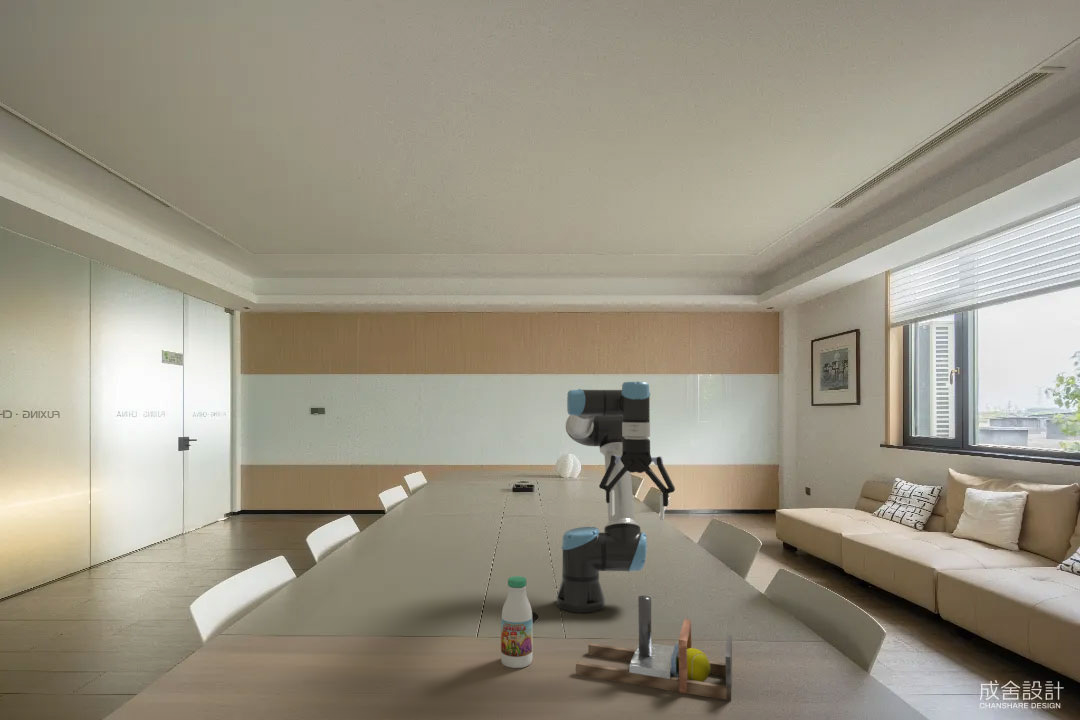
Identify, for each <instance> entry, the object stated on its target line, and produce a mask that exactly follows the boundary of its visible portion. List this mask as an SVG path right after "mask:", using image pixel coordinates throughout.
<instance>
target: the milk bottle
mask: <svg viewBox="0 0 1080 720" xmlns="http://www.w3.org/2000/svg"><path fill="white" fill-rule="evenodd" d="M507 588H508V592H507V593H508V594H507V596H506V599H505V602H504V604H503V607H502V610H501V621H500V623H501V625H500V626H501V628H500V629H501V630H500V633H501V634H500V661H501V664H502V665H503V666H504V667H506V668H510V669H521V668H525V667H528V666H530V665H531V664H532V661H533V611H532V610H533V609H532V607H531V606H532V605H531V603H530V600H529V598H528V596H527V592H526V589H527V578H526V577H525V576H520V575H519V576H518V575H516V576H515V575H514V576H510V577H508V579H507Z"/></svg>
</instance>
